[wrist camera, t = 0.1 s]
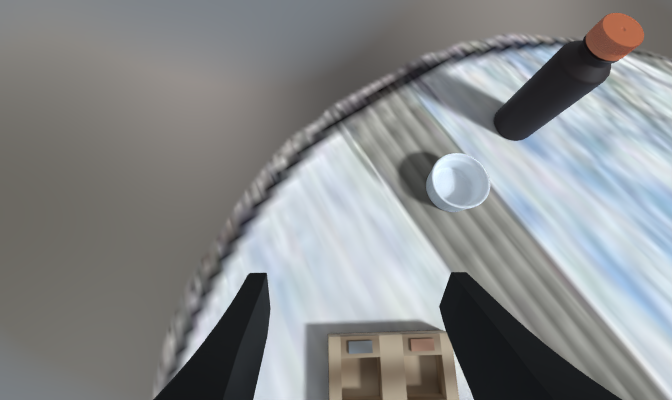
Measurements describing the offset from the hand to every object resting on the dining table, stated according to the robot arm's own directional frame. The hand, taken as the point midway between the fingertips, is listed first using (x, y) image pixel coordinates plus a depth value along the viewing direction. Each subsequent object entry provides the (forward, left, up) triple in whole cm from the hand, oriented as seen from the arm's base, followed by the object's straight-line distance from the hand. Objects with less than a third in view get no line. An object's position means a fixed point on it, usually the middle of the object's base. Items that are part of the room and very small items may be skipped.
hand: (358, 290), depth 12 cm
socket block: (-11, -8, -32) cm, 35 cm away
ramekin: (+15, -20, -32) cm, 41 cm away
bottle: (+27, -33, -32) cm, 53 cm away
